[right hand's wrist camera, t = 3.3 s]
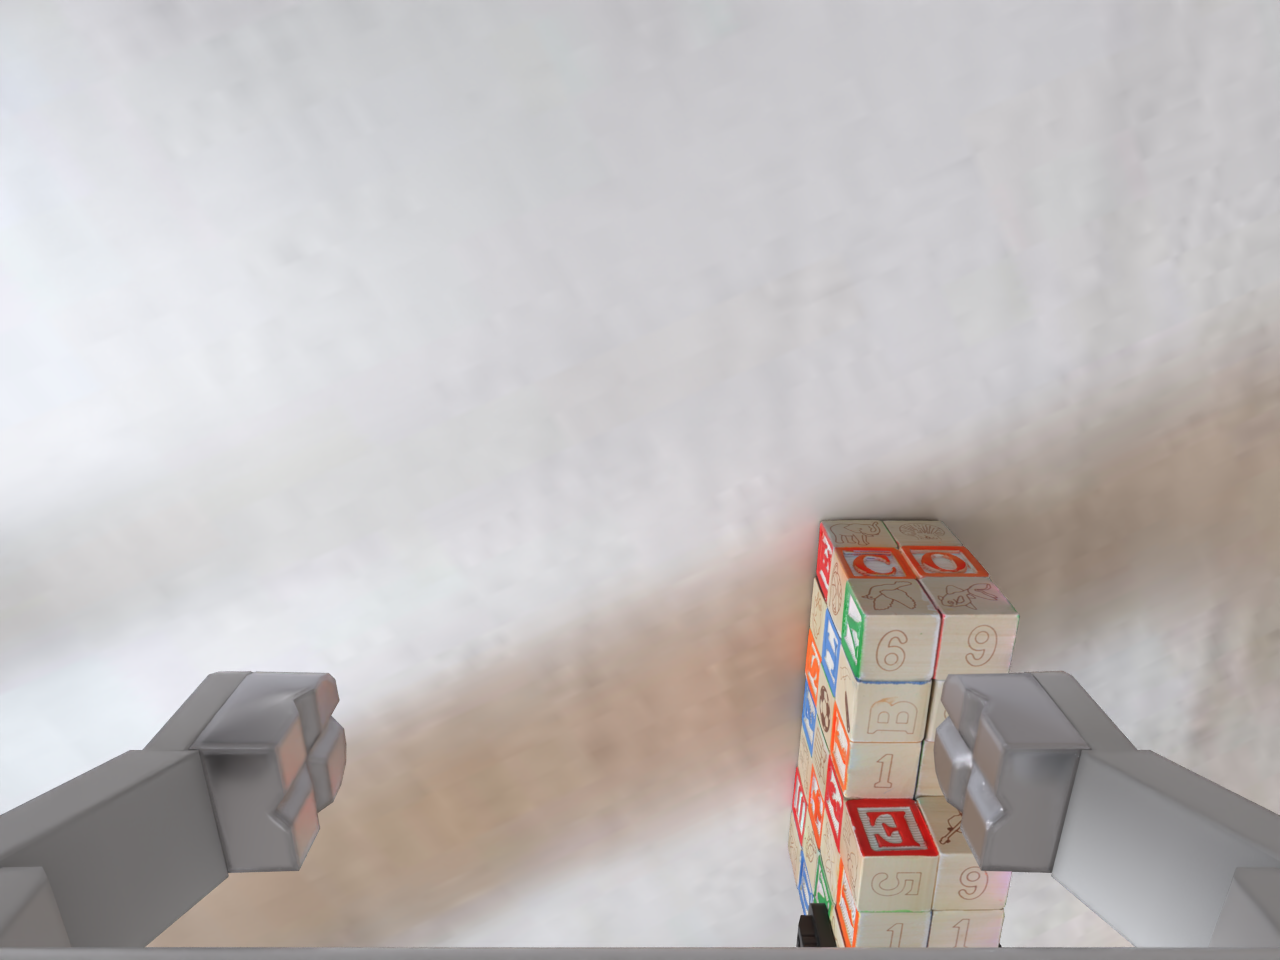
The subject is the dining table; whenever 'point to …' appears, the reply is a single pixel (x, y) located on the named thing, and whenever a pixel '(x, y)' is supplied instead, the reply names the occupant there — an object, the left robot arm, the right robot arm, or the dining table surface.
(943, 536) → the stack of blocks
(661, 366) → the dining table surface
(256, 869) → the right robot arm
